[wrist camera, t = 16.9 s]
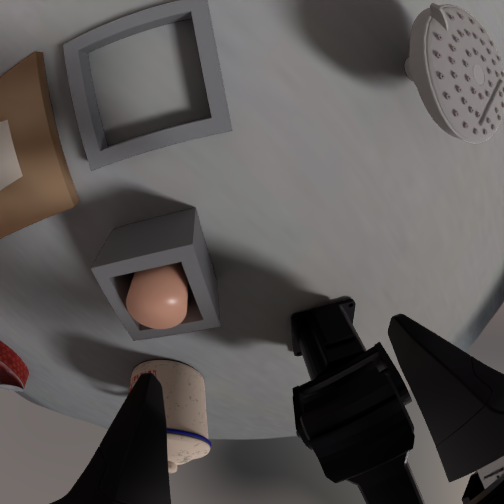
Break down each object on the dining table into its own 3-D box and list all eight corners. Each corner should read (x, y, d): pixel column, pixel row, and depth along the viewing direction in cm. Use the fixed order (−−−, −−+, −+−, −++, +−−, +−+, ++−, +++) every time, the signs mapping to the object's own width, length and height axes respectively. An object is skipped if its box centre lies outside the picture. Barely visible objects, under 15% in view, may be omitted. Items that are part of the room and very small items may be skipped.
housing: (216, 280, 22) (220, 326, 18) (143, 295, 22) (133, 340, 17) (195, 207, 18) (192, 244, 14) (113, 229, 18) (90, 268, 14)
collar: (230, 128, 16) (232, 130, 15) (99, 165, 15) (91, 171, 14) (206, 2, 11) (206, -6, 10) (73, 47, 11) (62, 44, 9)
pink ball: (195, 279, 20) (194, 323, 16) (149, 289, 20) (141, 332, 16) (181, 236, 18) (175, 277, 14) (131, 248, 18) (115, 289, 14)
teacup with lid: (143, 346, 25) (132, 454, 15) (220, 371, 29) (232, 467, 19) (117, 392, 29) (108, 471, 19) (178, 410, 33) (181, 484, 23)
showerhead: (457, -27, 4) (525, 89, 8) (392, -9, 11) (463, 77, 14) (402, 50, 8) (485, 177, 12) (335, 61, 14) (420, 147, 18)
